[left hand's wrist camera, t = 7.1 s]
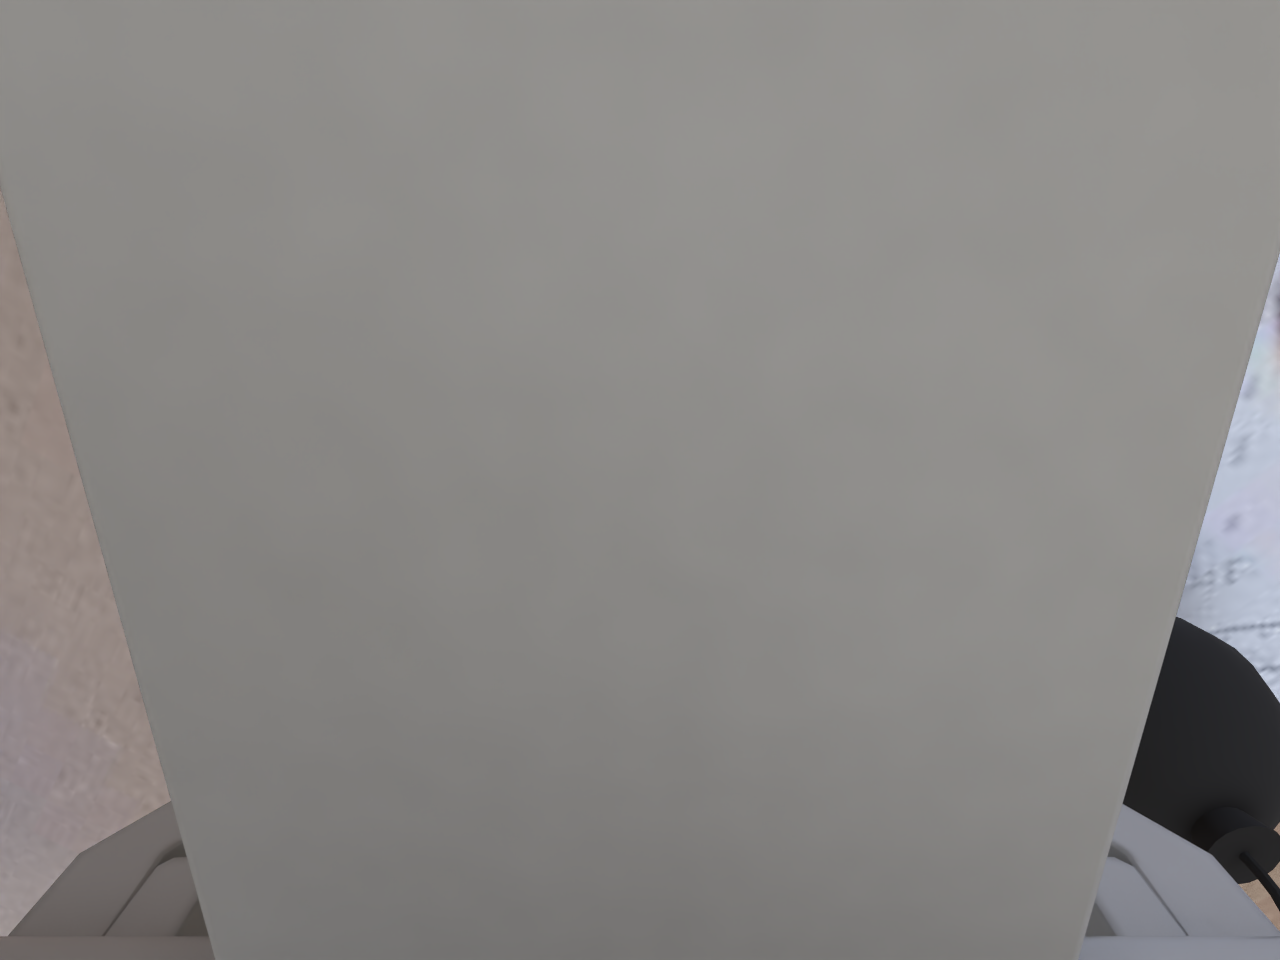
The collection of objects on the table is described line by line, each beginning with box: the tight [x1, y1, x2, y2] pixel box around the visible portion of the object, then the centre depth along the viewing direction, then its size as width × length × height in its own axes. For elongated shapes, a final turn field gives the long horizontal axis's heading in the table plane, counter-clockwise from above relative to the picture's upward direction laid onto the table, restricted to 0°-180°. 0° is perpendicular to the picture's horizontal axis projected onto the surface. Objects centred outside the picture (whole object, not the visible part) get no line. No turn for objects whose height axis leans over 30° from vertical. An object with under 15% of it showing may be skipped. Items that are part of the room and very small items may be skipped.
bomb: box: [1123, 617, 1280, 911], centre depth 22 cm, size 8×8×12 cm
